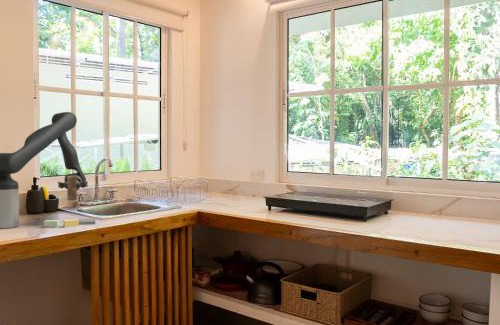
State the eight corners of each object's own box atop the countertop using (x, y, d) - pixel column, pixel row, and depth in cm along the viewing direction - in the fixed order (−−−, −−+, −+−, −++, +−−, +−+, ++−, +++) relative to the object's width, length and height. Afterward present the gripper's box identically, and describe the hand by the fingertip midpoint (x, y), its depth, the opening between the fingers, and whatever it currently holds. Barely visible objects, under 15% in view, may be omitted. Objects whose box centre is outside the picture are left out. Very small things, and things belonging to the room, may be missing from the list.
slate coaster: (77, 224, 206) (77, 222, 206) (77, 221, 214) (77, 219, 214) (95, 223, 209) (95, 221, 209) (95, 221, 216) (95, 218, 216)
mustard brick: (65, 228, 200) (64, 221, 199) (63, 226, 202) (63, 220, 202) (78, 226, 203) (78, 220, 203) (76, 225, 206) (76, 219, 206)
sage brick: (43, 227, 199) (43, 221, 199) (46, 226, 202) (46, 220, 202) (57, 227, 200) (57, 221, 199) (60, 226, 203) (60, 220, 202)
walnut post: (67, 200, 207) (67, 176, 206) (67, 199, 210) (67, 176, 210) (76, 200, 208) (76, 176, 207) (77, 198, 212) (76, 175, 211)
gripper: (58, 175, 220) (55, 178, 204) (88, 175, 224) (88, 178, 208) (58, 190, 220) (55, 194, 204) (88, 189, 225) (88, 194, 209)
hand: (72, 186), depth 206 cm, fingers closed on walnut post, 4 cm apart
